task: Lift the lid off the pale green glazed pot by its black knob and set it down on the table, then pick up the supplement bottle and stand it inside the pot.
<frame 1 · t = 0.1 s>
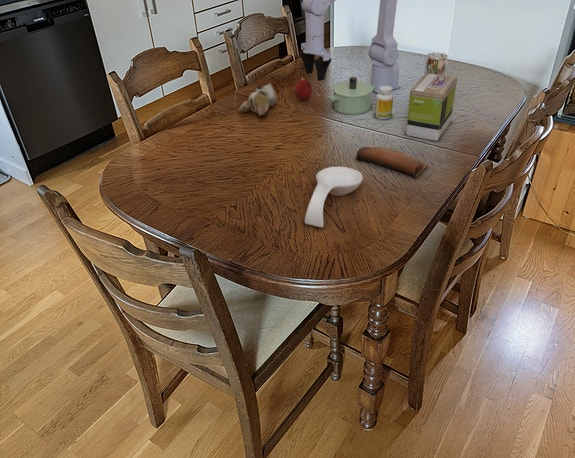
hand: (315, 76, 166), 10 cm above the table, tool pointing down, fingers open, 7 cm apart
ceramic sculpture: (260, 111, 170), on the table
sunglasses case: (391, 164, 138), on the table
spoon rest: (331, 201, 124), on the table
onion: (303, 100, 176), on the table
tea box: (428, 129, 154), on the table
beer glass: (430, 99, 172), on the table
lid: (352, 89, 166), point 6 cm above the table, touching pot
pot: (352, 106, 170), on the table
supplement bottle: (383, 116, 163), on the table
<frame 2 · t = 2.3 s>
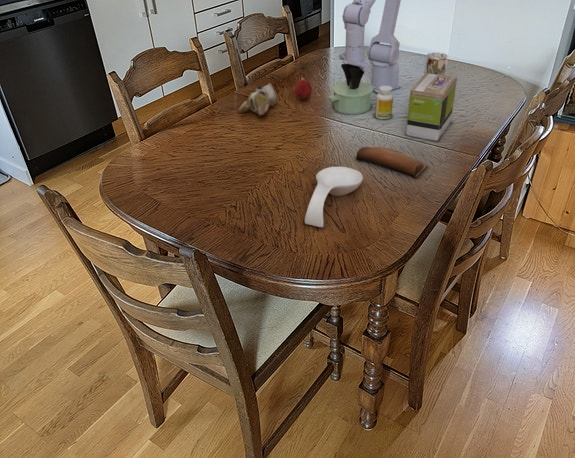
hand: (352, 86, 165), 7 cm above the table, tool pointing down, fingers closed on lid, 2 cm apart
lid: (352, 89, 166), point 6 cm above the table, touching gripper, pot
everything else where it was.
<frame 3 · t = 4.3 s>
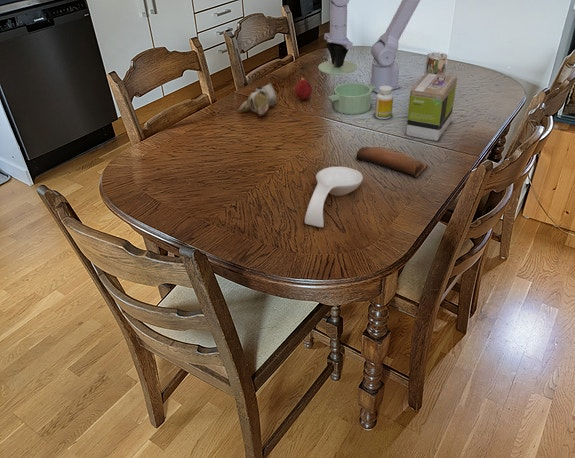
hand: (337, 65, 174), 10 cm above the table, tool pointing down, fingers closed on lid, 2 cm apart
lid: (337, 67, 175), point 9 cm above the table, touching gripper
everything else where it was.
when the fingers open (2 cm above the table, at t = 6.5 s): lid stays where it is, point 1 cm above the table.
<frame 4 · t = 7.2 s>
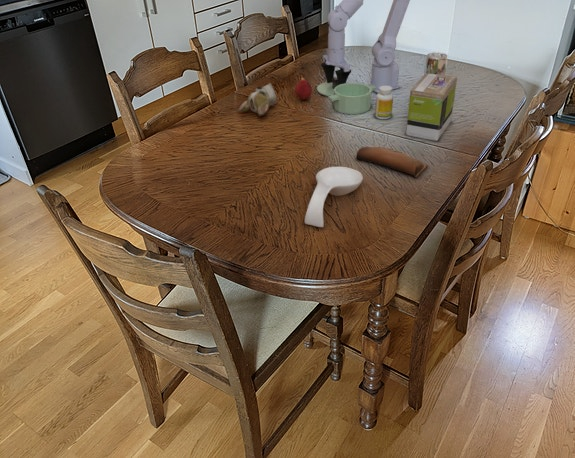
hand: (335, 85, 180), 2 cm above the table, tool pointing down, fingers open, 7 cm apart
lid: (335, 89, 181), point 1 cm above the table
everything else where it was.
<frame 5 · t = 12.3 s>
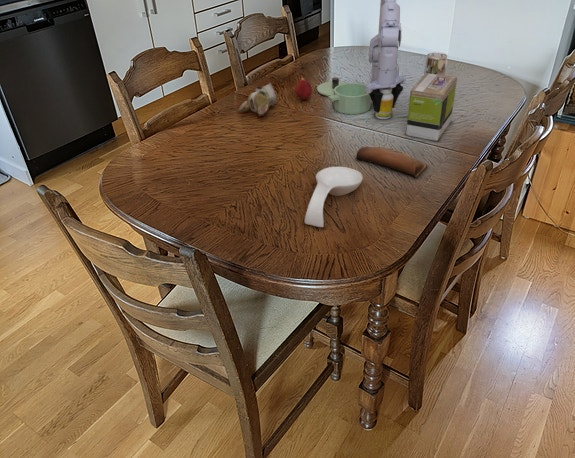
hand: (383, 109, 161), 2 cm above the table, tool pointing down, fingers closed on supplement bottle, 5 cm apart
supplement bottle: (383, 116, 163), on the table, touching gripper
everything else where it was.
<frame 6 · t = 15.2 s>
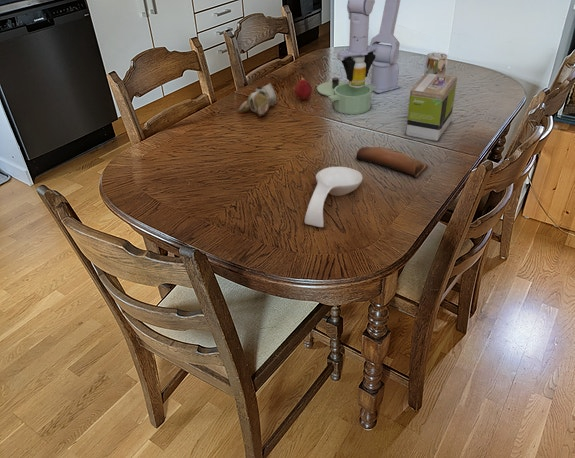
hand: (356, 78, 163), 10 cm above the table, tool pointing down, fingers closed on supplement bottle, 5 cm apart
supplement bottle: (356, 85, 164), point 8 cm above the table, touching gripper
everything else where it was.
when the fingers open (3 cm above the table, at t = 17.9 s): supplement bottle stays where it is, resting on pot.
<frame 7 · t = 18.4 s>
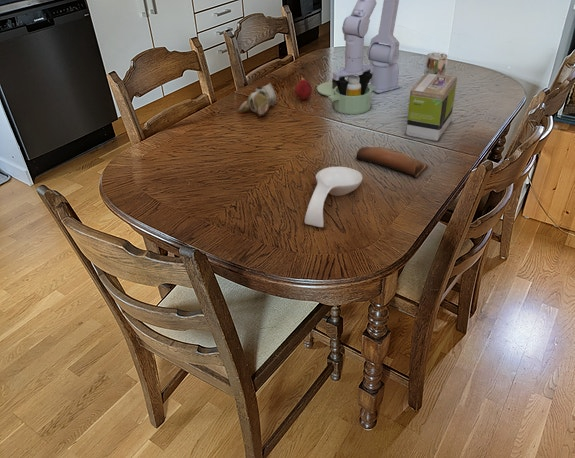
hand: (352, 96, 167), 4 cm above the table, tool pointing down, fingers open, 7 cm apart
supplement bottle: (352, 105, 169), resting on pot
everything else where it was.
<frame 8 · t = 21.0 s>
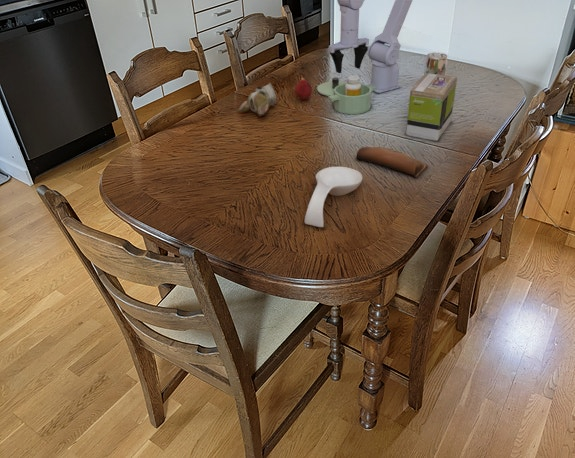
hand: (348, 70, 168), 10 cm above the table, tool pointing down, fingers open, 7 cm apart
nothing on the table moved.
at the end: lid inside the target area (0.1 cm from its centre), point 0.6 cm above the table; supplement bottle inside the target area in the pot (0.0 cm from its centre), point 0.3 cm above the pot's base; supplement bottle tilted 0° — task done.
